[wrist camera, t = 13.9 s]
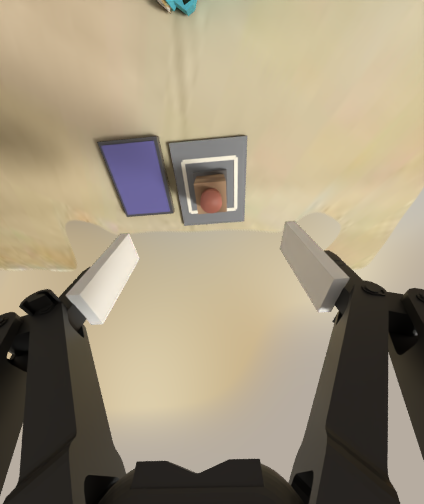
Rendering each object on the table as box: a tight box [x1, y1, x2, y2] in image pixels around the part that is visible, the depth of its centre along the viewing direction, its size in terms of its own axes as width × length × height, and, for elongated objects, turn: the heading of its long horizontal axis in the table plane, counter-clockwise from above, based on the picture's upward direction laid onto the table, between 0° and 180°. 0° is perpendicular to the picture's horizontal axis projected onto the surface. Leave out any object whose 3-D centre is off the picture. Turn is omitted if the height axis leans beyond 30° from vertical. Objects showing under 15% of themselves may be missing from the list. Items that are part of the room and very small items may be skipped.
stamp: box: [193, 169, 228, 214], centre depth 26 cm, size 6×6×8 cm
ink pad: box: [97, 136, 174, 217], centre depth 29 cm, size 9×12×2 cm
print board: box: [169, 136, 247, 226], centre depth 30 cm, size 12×14×1 cm
